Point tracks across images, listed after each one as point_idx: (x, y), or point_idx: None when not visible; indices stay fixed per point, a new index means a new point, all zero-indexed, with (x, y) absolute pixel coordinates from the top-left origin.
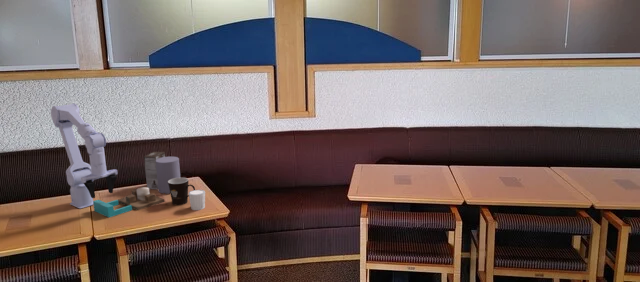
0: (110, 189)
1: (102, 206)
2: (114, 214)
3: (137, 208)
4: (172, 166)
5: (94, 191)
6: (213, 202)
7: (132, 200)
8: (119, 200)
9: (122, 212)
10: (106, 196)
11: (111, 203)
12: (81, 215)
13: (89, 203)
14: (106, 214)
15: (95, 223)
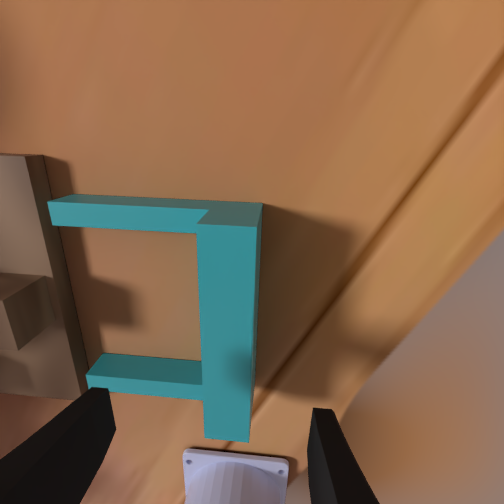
0: (81, 437)
1: (254, 313)
2: (214, 202)
3: (29, 155)
4: None
5: (334, 494)
6: None
7: (5, 283)
8: (77, 381)
9: (148, 198)
10: (104, 486)
11: (139, 372)
12: (343, 381)
13: (226, 468)
14: (260, 240)
15: (394, 180)
